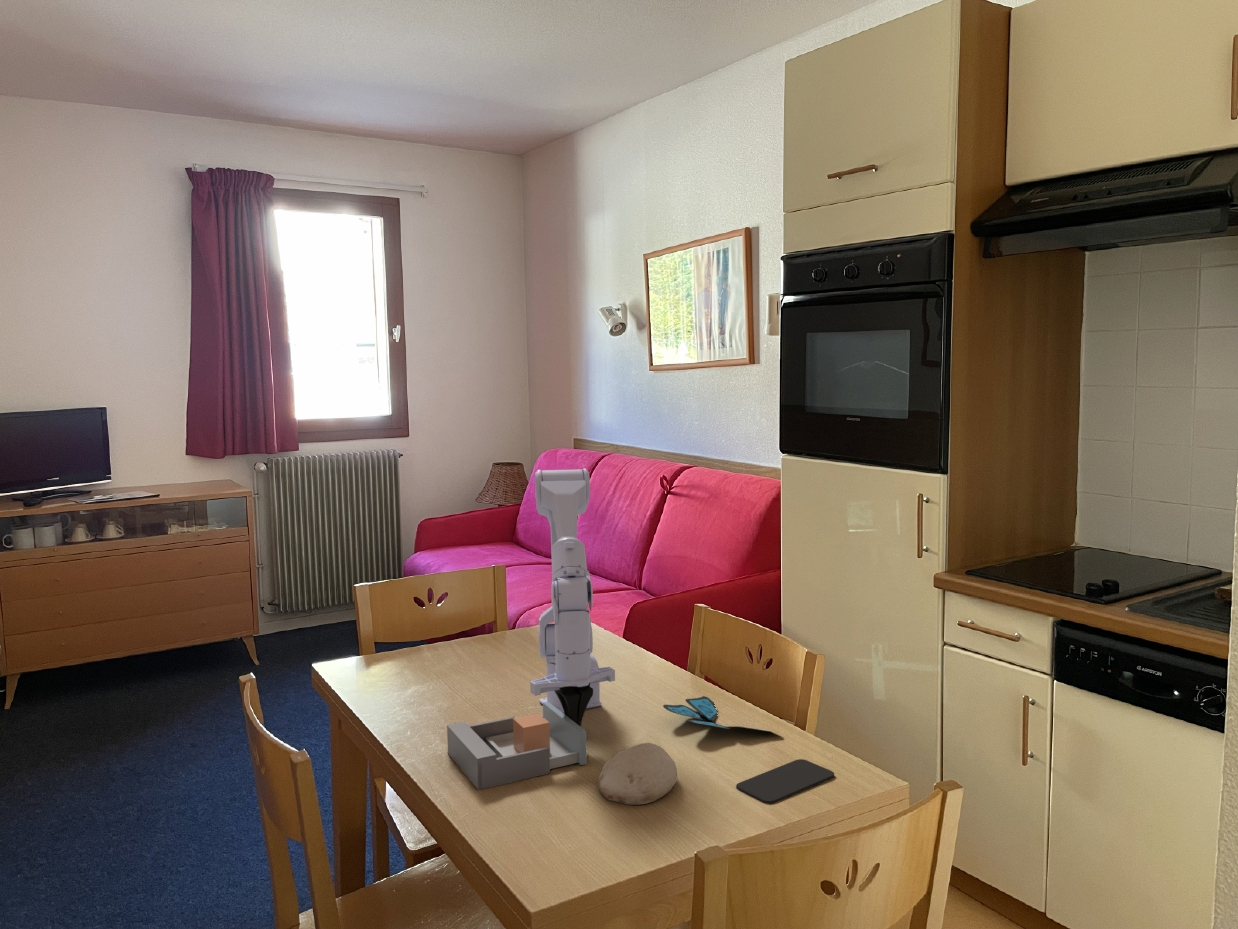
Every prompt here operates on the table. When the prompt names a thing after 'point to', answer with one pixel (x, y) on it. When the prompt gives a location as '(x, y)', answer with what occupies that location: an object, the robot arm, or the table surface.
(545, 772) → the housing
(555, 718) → the tray
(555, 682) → the robot arm
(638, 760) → the stone
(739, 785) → the phone
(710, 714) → the decorative butterfly
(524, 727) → the block
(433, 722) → the table surface
